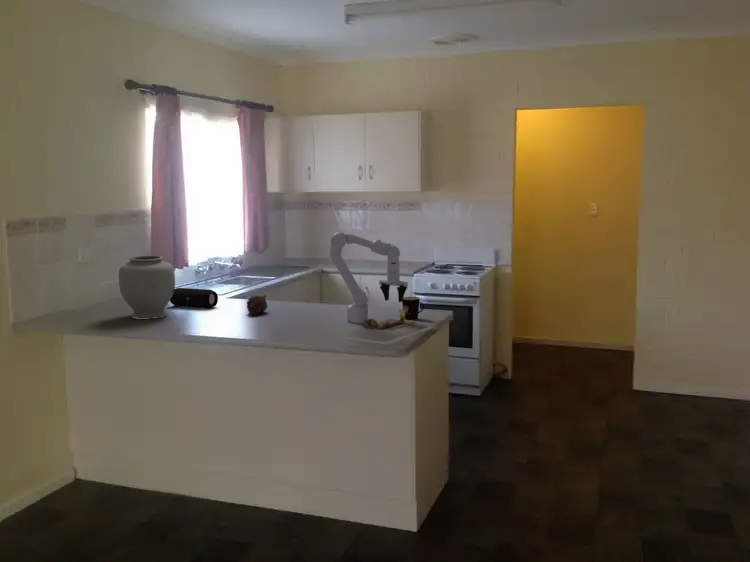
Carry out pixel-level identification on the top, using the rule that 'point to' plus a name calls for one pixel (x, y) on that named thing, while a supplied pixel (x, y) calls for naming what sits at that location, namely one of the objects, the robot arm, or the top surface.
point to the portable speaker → (194, 298)
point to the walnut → (373, 323)
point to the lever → (388, 324)
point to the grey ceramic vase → (147, 285)
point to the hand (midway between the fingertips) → (393, 301)
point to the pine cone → (256, 304)
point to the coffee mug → (411, 307)
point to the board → (392, 328)
